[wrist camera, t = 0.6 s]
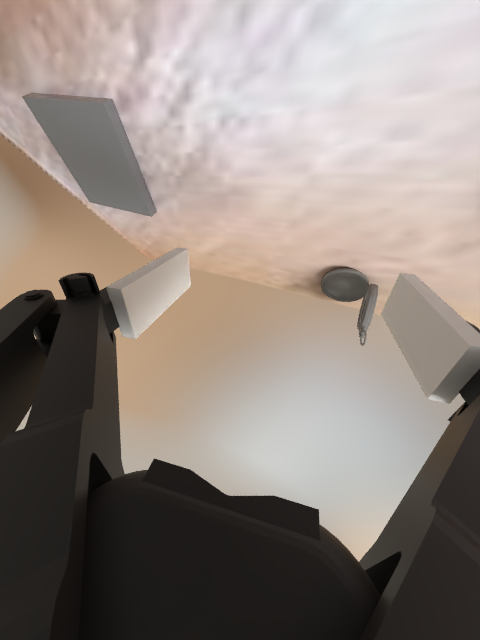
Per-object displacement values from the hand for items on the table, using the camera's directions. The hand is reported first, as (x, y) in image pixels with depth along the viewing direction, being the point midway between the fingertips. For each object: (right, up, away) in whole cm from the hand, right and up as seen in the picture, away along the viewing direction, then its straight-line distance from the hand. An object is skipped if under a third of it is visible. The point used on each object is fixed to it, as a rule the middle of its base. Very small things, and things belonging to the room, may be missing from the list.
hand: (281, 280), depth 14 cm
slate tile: (-24, +22, +19) cm, 38 cm away
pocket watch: (+15, +3, +19) cm, 24 cm away
